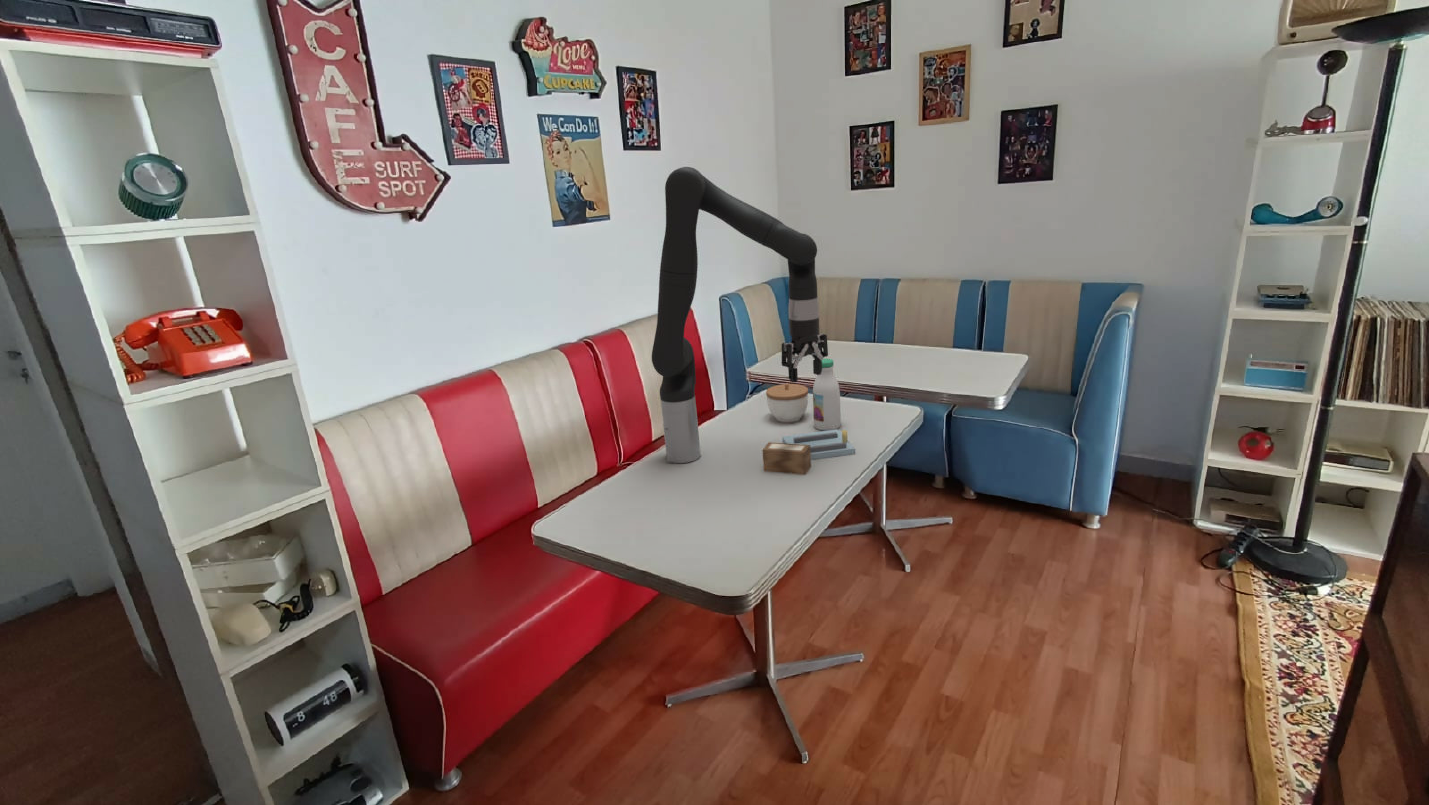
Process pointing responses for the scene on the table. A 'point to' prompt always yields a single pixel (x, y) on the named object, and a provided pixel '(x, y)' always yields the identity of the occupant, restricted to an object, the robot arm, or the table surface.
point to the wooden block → (787, 458)
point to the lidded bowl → (787, 401)
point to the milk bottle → (826, 399)
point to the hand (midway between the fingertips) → (805, 377)
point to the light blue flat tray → (823, 443)
